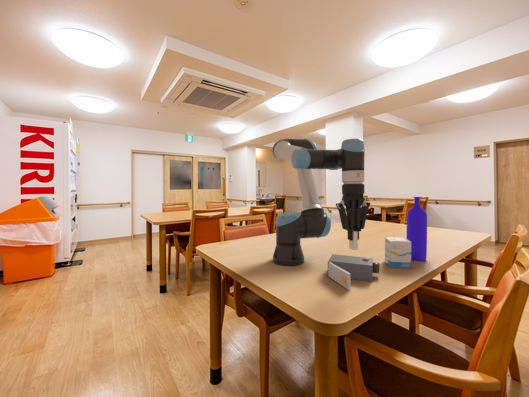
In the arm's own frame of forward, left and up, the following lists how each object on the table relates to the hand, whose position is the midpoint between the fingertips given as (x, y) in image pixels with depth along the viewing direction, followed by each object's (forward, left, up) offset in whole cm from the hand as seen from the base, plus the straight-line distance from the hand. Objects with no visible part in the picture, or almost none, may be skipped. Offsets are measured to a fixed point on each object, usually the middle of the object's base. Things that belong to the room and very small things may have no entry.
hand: (353, 248), depth 85 cm
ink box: (+16, +30, -13) cm, 37 cm away
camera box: (-1, +10, -13) cm, 17 cm away
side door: (-5, -1, -13) cm, 14 cm away
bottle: (+25, +43, -13) cm, 52 cm away
